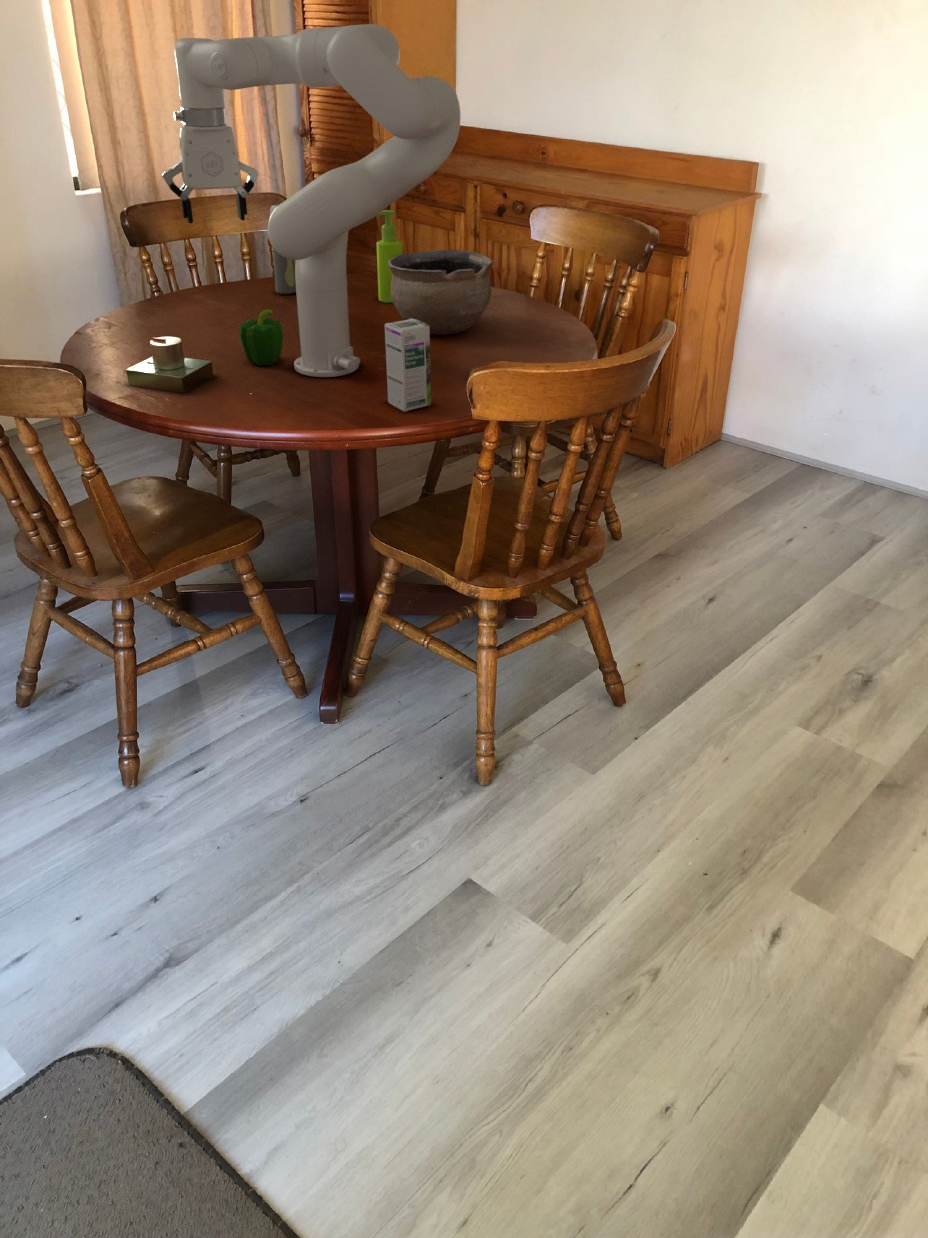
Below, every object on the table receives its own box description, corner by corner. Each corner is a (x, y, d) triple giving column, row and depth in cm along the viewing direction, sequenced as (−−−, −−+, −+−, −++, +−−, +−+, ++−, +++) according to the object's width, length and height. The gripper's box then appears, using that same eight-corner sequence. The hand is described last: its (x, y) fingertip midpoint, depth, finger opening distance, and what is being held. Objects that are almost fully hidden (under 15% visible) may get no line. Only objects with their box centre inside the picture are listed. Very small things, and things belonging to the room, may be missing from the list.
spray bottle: (271, 292, 236) (263, 204, 226) (286, 288, 240) (278, 201, 229) (285, 295, 234) (278, 207, 223) (300, 291, 237) (293, 204, 226)
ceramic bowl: (430, 351, 199) (430, 276, 191) (370, 326, 213) (367, 255, 205) (511, 332, 211) (513, 260, 203) (448, 310, 225) (449, 242, 217)
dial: (190, 362, 182) (186, 336, 180) (173, 371, 178) (169, 345, 175) (165, 358, 184) (161, 333, 181) (147, 367, 180) (143, 341, 177)
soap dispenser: (371, 297, 233) (367, 209, 222) (397, 295, 236) (395, 207, 225) (379, 304, 229) (376, 213, 218) (406, 301, 231) (405, 211, 220)
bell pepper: (245, 370, 188) (239, 318, 183) (240, 357, 195) (235, 307, 189) (288, 367, 190) (283, 315, 185) (282, 354, 197) (278, 304, 191)
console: (213, 376, 185) (211, 360, 183) (184, 393, 177) (181, 376, 175) (160, 368, 188) (157, 352, 187) (128, 385, 180) (125, 368, 179)
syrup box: (404, 412, 170) (402, 329, 162) (386, 402, 174) (384, 321, 166) (431, 406, 173) (430, 324, 165) (413, 396, 177) (411, 316, 169)
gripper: (157, 122, 167) (172, 227, 176) (257, 119, 173) (266, 221, 182) (151, 117, 173) (165, 219, 182) (248, 115, 179) (257, 214, 188)
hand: (216, 220), depth 182 cm, fingers open, 9 cm apart
